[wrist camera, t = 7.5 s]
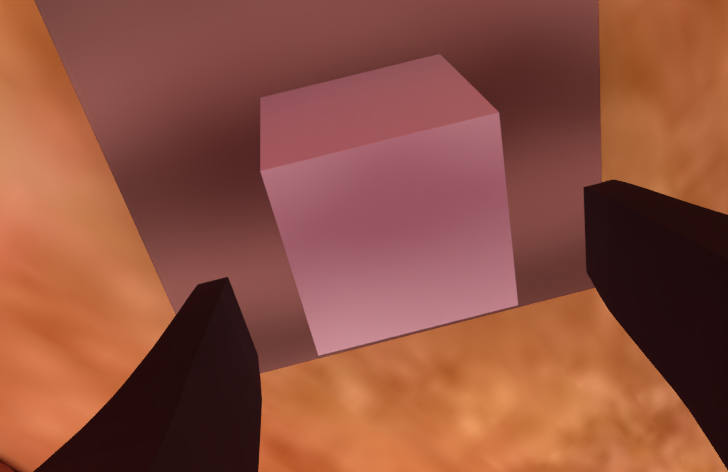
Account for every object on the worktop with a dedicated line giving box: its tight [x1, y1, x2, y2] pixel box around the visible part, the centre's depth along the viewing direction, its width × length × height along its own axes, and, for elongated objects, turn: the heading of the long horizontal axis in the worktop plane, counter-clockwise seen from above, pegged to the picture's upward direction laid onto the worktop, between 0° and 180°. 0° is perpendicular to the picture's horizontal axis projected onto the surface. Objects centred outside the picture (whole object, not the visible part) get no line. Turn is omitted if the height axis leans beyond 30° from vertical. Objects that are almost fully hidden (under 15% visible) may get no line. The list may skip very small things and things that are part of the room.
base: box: [34, 0, 602, 373], centre depth 20 cm, size 14×14×3 cm
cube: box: [260, 54, 518, 356], centre depth 16 cm, size 5×5×5 cm
